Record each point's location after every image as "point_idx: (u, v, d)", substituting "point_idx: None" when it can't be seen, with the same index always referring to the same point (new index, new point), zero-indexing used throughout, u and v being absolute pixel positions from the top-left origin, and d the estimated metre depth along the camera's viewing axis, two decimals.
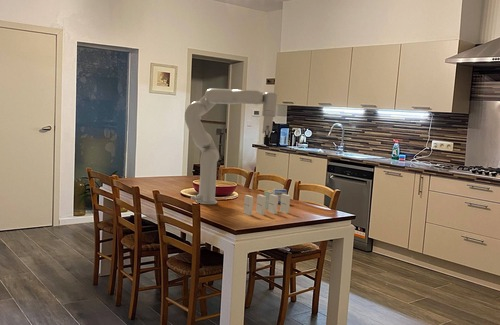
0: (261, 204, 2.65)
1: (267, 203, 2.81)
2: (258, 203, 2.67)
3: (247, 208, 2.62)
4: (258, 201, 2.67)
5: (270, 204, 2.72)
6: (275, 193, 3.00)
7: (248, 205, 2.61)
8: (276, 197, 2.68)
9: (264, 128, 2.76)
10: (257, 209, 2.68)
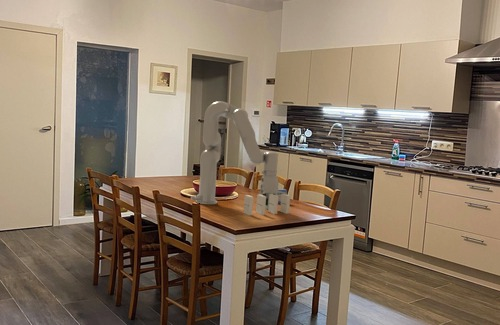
0: (261, 204, 2.65)
1: None
2: (258, 203, 2.67)
3: (247, 208, 2.62)
4: (258, 201, 2.67)
5: (270, 204, 2.72)
6: None
7: (248, 205, 2.61)
8: (276, 197, 2.68)
9: None
10: (257, 209, 2.68)
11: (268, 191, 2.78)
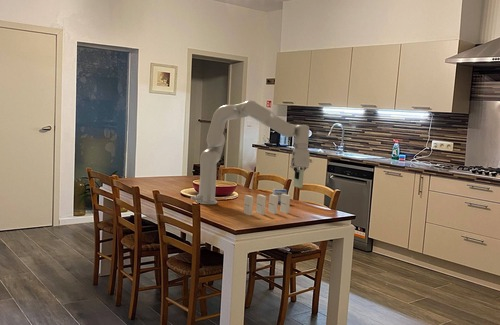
0: (261, 204, 2.65)
1: (298, 181, 2.76)
2: (258, 203, 2.67)
3: (247, 208, 2.62)
4: (258, 201, 2.67)
5: (270, 204, 2.72)
6: (275, 193, 3.00)
7: (248, 205, 2.61)
8: (276, 197, 2.68)
9: None
10: (257, 209, 2.68)
11: (299, 164, 2.74)
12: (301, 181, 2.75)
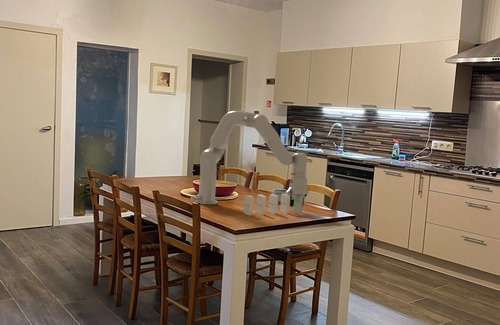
0: (261, 204, 2.65)
1: (297, 206, 2.78)
2: (258, 203, 2.67)
3: (247, 208, 2.62)
4: (258, 201, 2.67)
5: (270, 204, 2.72)
6: (275, 193, 3.00)
7: (248, 205, 2.61)
8: (276, 197, 2.68)
9: None
10: (257, 209, 2.68)
11: (297, 192, 2.75)
12: (300, 206, 2.77)
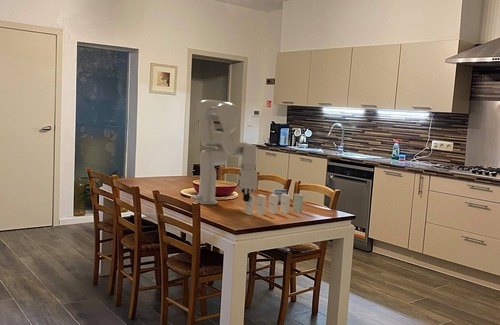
0: (261, 204, 2.65)
1: (297, 206, 2.78)
2: (258, 203, 2.67)
3: (248, 208, 2.62)
4: (258, 201, 2.67)
5: (270, 204, 2.72)
6: (275, 193, 3.00)
7: (249, 204, 2.61)
8: (276, 197, 2.68)
9: None
10: (257, 209, 2.68)
11: (246, 186, 2.58)
12: (300, 206, 2.77)
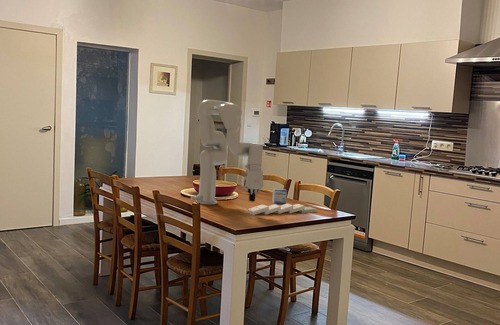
0: (272, 208, 2.69)
1: (305, 208, 2.81)
2: (269, 207, 2.71)
3: (256, 209, 2.65)
4: (271, 206, 2.72)
5: None
6: (275, 193, 3.00)
7: (259, 208, 2.65)
8: (292, 207, 2.74)
9: None
10: None
11: (252, 186, 2.60)
12: (307, 211, 2.80)
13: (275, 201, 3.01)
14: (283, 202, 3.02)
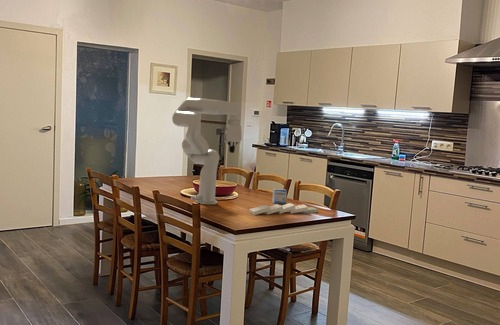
0: (274, 208, 2.69)
1: None
2: (271, 207, 2.71)
3: (257, 209, 2.64)
4: (273, 206, 2.72)
5: None
6: (275, 193, 3.00)
7: (261, 208, 2.65)
8: (294, 206, 2.74)
9: None
10: None
11: (231, 139, 2.99)
12: (308, 211, 2.79)
13: (275, 201, 3.01)
14: (283, 202, 3.02)
